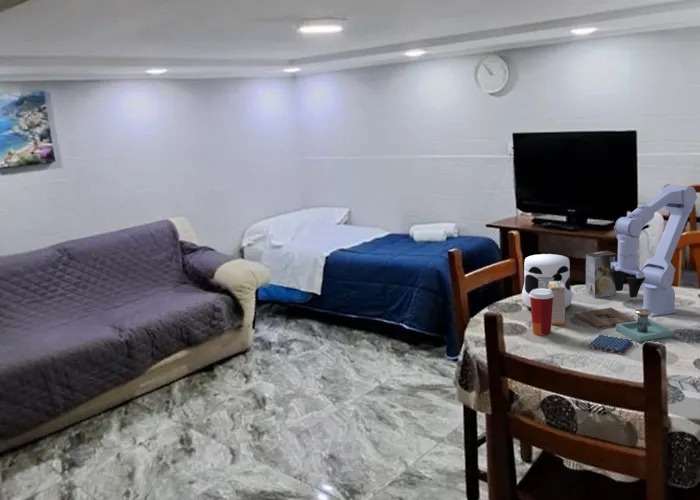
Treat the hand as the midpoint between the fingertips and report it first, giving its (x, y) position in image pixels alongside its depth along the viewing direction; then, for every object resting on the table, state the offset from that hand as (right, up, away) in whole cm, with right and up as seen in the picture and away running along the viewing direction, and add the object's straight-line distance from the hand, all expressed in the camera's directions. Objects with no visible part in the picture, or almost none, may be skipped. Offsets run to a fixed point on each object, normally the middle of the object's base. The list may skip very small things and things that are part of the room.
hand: (626, 293), depth 215 cm
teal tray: (+1, -12, -10) cm, 16 cm away
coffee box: (+3, -2, +31) cm, 31 cm away
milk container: (-20, -6, +21) cm, 30 cm away
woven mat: (-12, -15, -17) cm, 26 cm away
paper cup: (-29, -13, -3) cm, 32 cm away
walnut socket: (-5, -9, +5) cm, 11 cm away
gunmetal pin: (+1, -11, -10) cm, 15 cm away
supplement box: (-21, -10, +7) cm, 24 cm away
